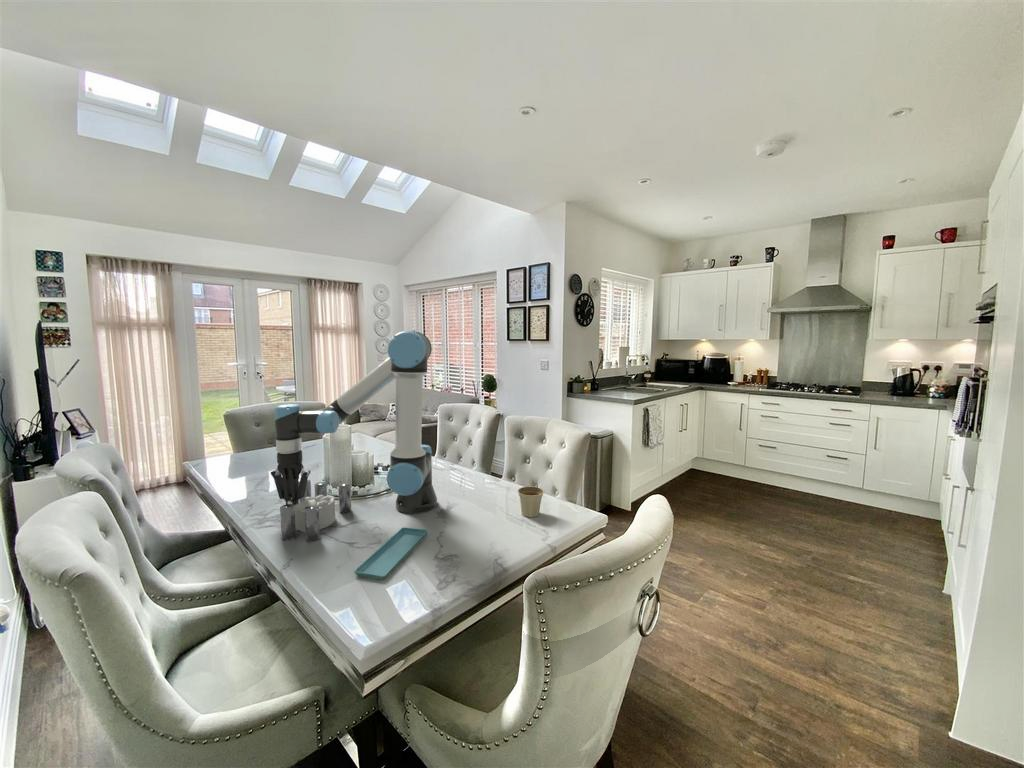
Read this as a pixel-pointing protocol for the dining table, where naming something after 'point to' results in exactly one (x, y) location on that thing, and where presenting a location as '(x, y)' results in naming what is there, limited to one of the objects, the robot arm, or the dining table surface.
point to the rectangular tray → (391, 554)
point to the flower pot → (530, 500)
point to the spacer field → (312, 511)
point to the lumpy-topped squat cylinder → (325, 511)
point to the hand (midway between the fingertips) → (293, 518)
